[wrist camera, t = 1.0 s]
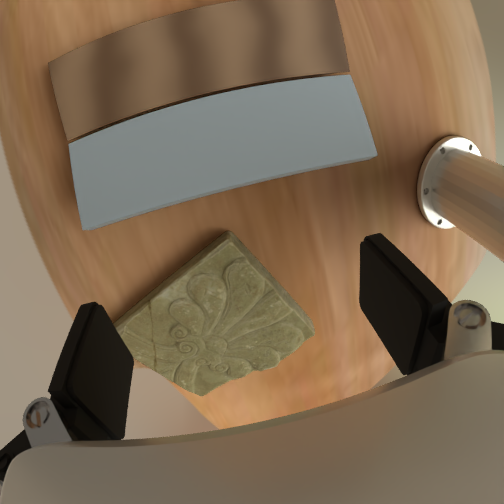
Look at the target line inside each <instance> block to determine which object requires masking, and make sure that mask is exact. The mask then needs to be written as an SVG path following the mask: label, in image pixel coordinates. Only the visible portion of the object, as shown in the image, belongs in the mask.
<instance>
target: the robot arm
mask: <svg viewBox="0 0 504 504" xmlns="http://www.w3.org/2000/svg"><path fill="white" fill-rule="evenodd" d="M417 197H418V203H419V207H420V210H421V212H422V214H423V216H424V217H425V218H426V220H427V221H429V222H430V223H431V224H432V225H434V226H436V227H438V228H442V229H448V228H452V227H455V226H456V227H457V228H459V229H460V230H462V231H463V232H464V233H466V234H467V235H469V236H470V237H471V238H473V239H474V240H475V241H477V242H478V243H479V244H481V245H482V246H483V247H485V248H486V249H487V250H489V251H490V252H491V253H493V254H494V255H495V256H496V257H498V258H499V259H500V260H501V261H503V262H504V166H503V165H500V164H498V163H496V162H493V161H491V160H489V159H486V158H484V157H481V154H480V152H479V150H478V148H477V147H476V146H475V144H474V143H473V142H471V141H470V140H469V139H466V138H464V137H461V136H456V135H455V136H448V137H445V138H443V139H442V140H440V141H439V142H437V143H436V144H435V145H434V146H433V147H432V148H431V150H430V151H429V153H428V154H427V156H426V158H425V160H424V162H423V164H422V167H421V170H420V173H419V178H418V184H417ZM359 303H360V307H361V309H362V311H363V313H364V314H365V316H366V317H367V319H368V320H369V322H370V323H371V325H372V327H373V328H374V330H375V331H376V333H377V334H378V336H379V338H380V339H381V341H382V342H383V344H384V345H385V347H386V349H387V350H388V352H389V354H390V355H391V357H392V358H393V360H394V362H395V363H396V365H397V367H398V368H399V370H400V371H401V373H402V374H403V375H406V374H407V376H405V377H403V378H400V379H398V380H395V381H393V382H390V383H387V384H385V385H382V386H379V387H377V388H374V389H371V390H368V391H366V392H363V393H360V394H357V395H354V396H352V397H349V398H346V399H343V400H340V401H336V402H333V403H330V404H327V405H324V406H320V407H317V408H313V409H310V410H306V411H303V412H299V413H295V414H291V415H287V416H284V417H279V418H275V419H271V420H267V421H262V422H258V423H253V424H248V425H243V426H238V427H233V428H227V429H221V430H215V431H209V432H202V433H195V434H187V435H179V436H170V437H159V438H147V439H131V440H121V439H123V438H124V436H125V427H126V418H127V409H128V401H129V393H130V386H131V379H132V371H133V366H134V360H133V356H132V354H131V352H130V351H129V349H128V348H127V346H126V345H125V343H124V341H123V340H122V338H121V336H120V335H119V333H118V332H117V330H116V328H115V326H114V325H113V323H112V321H111V320H110V318H109V316H108V314H107V313H106V311H105V309H104V307H103V306H102V305H98V303H96V302H91V303H87V304H83V305H81V306H80V308H79V310H78V313H77V315H76V317H75V320H74V322H73V324H72V327H71V329H70V332H69V334H68V337H67V339H66V342H65V344H64V347H63V349H62V352H61V355H60V358H59V360H58V363H57V366H56V368H55V371H54V374H53V377H52V380H51V383H50V386H49V389H48V392H49V393H50V394H51V398H50V399H48V398H45V397H41V398H37V399H35V400H34V401H32V402H31V403H30V404H29V405H28V407H27V408H26V410H25V412H24V415H23V425H24V428H25V429H24V430H23V431H22V432H21V433H20V434H19V435H17V436H16V437H15V438H14V439H13V440H12V441H11V442H9V443H8V444H7V445H6V446H5V447H4V448H3V449H1V450H0V504H504V324H501V323H496V322H492V321H491V318H490V314H489V313H488V311H487V309H486V308H485V307H484V306H483V305H481V304H479V303H478V302H475V301H471V300H462V301H458V302H456V303H454V304H453V305H452V304H451V303H450V302H449V301H448V298H447V297H446V296H445V295H444V294H443V293H442V292H441V291H440V290H439V289H438V288H437V287H436V286H435V285H434V284H433V283H432V282H431V281H430V280H429V279H428V278H427V277H426V276H425V275H424V274H423V273H422V272H421V271H420V270H419V269H418V268H417V267H416V266H415V265H414V264H413V263H412V262H411V261H410V260H409V259H408V258H407V257H406V256H405V255H404V254H403V253H402V252H401V251H400V250H399V249H398V248H396V247H395V246H394V245H393V244H392V243H391V242H390V241H389V240H388V239H387V238H386V237H385V236H383V235H382V234H381V233H377V234H373V235H370V236H366V237H365V238H364V241H363V242H361V244H360V295H359Z"/></svg>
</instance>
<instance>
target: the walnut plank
mask: <svg viewBox="0 0 504 504" xmlns="http://www.w3.org/2000/svg"><path fill="white" fill-rule="evenodd" d="M48 66H49V71H50V76H51V80H52V85H53V89H54V93H55V97H56V101H57V105H58V109H59V113H60V117H61V120H62V124H63V127H64V131H65V134H66V137H67V141H69V140H72V139H74V138H76V137H79V136H81V135H83V134H86V133H88V132H90V131H93V130H95V129H98V128H100V127H103V126H105V125H108V124H111V123H113V122H116V121H119V120H121V119H124V118H127V117H130V116H132V115H135V114H138V113H141V112H144V111H147V110H150V109H153V108H157V107H160V106H163V105H166V104H170V103H173V102H177V101H180V100H184V99H187V98H191V97H195V96H199V95H203V94H207V93H211V92H215V91H220V90H224V89H229V88H233V87H238V86H243V85H248V84H254V83H259V82H265V81H271V80H278V79H284V78H292V77H299V76H308V75H317V74H328V73H340V72H350V70H349V64H348V59H347V54H346V49H345V44H344V39H343V34H342V29H341V25H340V21H339V16H338V12H337V8H336V4H335V0H238V1H231V2H225V3H219V4H214V5H208V6H204V7H199V8H194V9H190V10H186V11H181V12H178V13H174V14H170V15H166V16H163V17H159V18H156V19H152V20H149V21H146V22H143V23H140V24H137V25H134V26H131V27H128V28H125V29H123V30H120V31H117V32H115V33H112V34H109V35H107V36H104V37H102V38H100V39H97V40H95V41H92V42H90V43H88V44H86V45H83V46H81V47H79V48H77V49H75V50H73V51H71V52H69V53H67V54H65V55H63V56H61V57H59V58H57V59H55V60H53V61H51V62H49V63H48Z"/></svg>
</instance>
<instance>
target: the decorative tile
mask: <svg viewBox="0 0 504 504" xmlns="http://www.w3.org/2000/svg"><path fill="white" fill-rule="evenodd" d="M113 325H114V326H115V328H116V330H117V332H118V333H119V335H120V336H121V338H122V340H123V341H124V343H125V345H126V346H127V348H128V349H129V351H130V352H131V354H132V356H133V357H134V358H135V359H136V360H138V361H139V362H141V363H143V364H144V365H146V366H148V367H150V368H151V369H152V370H154V371H156V372H157V373H159V374H161V375H162V376H164V377H165V378H167V379H168V380H170V381H172V382H174V383H176V384H177V385H179V386H180V387H182V388H184V389H185V390H187V391H189V392H192V393H195V394H197V395H199V396H204V395H206V394H207V393H209V392H211V391H212V390H214V389H215V388H217V387H219V386H221V385H223V384H225V383H226V382H228V381H230V380H233V379H237V378H242V377H245V376H246V375H247V374H249V373H251V372H252V371H257V370H258V371H263V370H266V369H270V368H273V367H276V366H277V365H278V364H279V361H281V360H283V359H284V358H285V357H287V356H289V355H290V354H292V353H293V352H294V351H295V350H297V349H298V348H299V347H300V346H301V345H302V343H303V342H304V341H306V340H307V339H309V338H310V337H312V336H314V335H315V329H314V326H313V322H312V320H311V319H310V318H309V317H308V315H307V314H306V313H305V312H304V311H303V310H302V308H301V307H300V306H299V305H298V304H297V303H296V302H295V300H294V299H293V298H292V297H291V296H290V295H289V294H288V293H287V291H286V290H285V289H284V288H283V287H282V286H281V285H280V284H279V283H278V282H277V281H276V279H275V278H274V277H273V276H272V275H271V274H270V273H269V272H268V271H267V270H266V268H265V267H264V266H263V265H262V264H261V263H260V262H259V261H258V260H257V259H256V257H255V256H254V255H253V254H252V253H251V252H250V251H249V250H248V249H247V248H246V247H245V246H244V245H243V244H242V242H241V241H240V240H239V239H238V238H237V237H236V236H235V235H234V234H233V233H232V232H231V231H226V232H225V233H224V234H222V235H221V236H220V237H218V238H217V239H216V240H215V241H213V242H212V243H211V244H210V245H208V246H207V247H206V248H205V249H203V250H202V251H201V252H199V253H198V254H197V255H196V256H194V257H193V258H192V259H191V260H190V261H188V262H187V263H186V264H185V265H183V266H182V267H181V268H180V269H178V270H177V271H176V272H175V273H173V274H172V275H171V276H170V277H169V278H167V279H166V280H165V281H164V282H162V283H161V284H160V285H159V286H158V287H156V288H155V289H154V290H153V291H152V292H150V293H149V294H148V295H147V296H146V297H144V298H143V299H142V300H141V301H139V302H138V303H137V304H136V305H135V306H133V307H132V308H131V309H130V310H129V311H127V312H126V313H125V314H124V315H123V316H122V317H120V318H119V319H118V320H117V321H116V322H115V323H113Z"/></svg>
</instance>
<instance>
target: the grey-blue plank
mask: <svg viewBox="0 0 504 504" xmlns="http://www.w3.org/2000/svg"><path fill="white" fill-rule="evenodd" d="M69 152H70V160H71V168H72V175H73V181H74V188H75V193H76V199H77V205H78V210H79V215H80V220H81V225H82V229H83V230H94V229H97V228H100V227H103V226H106V225H109V224H112V223H115V222H118V221H122V220H125V219H128V218H131V217H134V216H138V215H141V214H144V213H147V212H151V211H154V210H158V209H161V208H164V207H168V206H171V205H175V204H178V203H182V202H185V201H189V200H193V199H196V198H200V197H204V196H207V195H211V194H215V193H219V192H223V191H227V190H231V189H235V188H239V187H243V186H247V185H251V184H255V183H259V182H263V181H268V180H272V179H276V178H281V177H285V176H290V175H294V174H299V173H304V172H308V171H313V170H318V169H323V168H328V167H333V166H338V165H343V164H349V163H354V162H359V161H365V160H369V159H371V158H374V157H376V156H378V154H377V151H376V147H375V144H374V141H373V138H372V134H371V131H370V128H369V125H368V122H367V119H366V116H365V113H364V110H363V107H362V104H361V102H360V99H359V96H358V93H357V91H356V88H355V85H354V83H353V80H352V78H351V75H339V76H327V77H317V78H308V79H300V80H292V81H285V82H278V83H272V84H266V85H260V86H255V87H249V88H244V89H239V90H234V91H230V92H225V93H221V94H216V95H212V96H208V97H204V98H200V99H196V100H192V101H188V102H185V103H181V104H178V105H174V106H171V107H167V108H164V109H161V110H157V111H154V112H151V113H148V114H145V115H142V116H139V117H136V118H133V119H130V120H127V121H125V122H122V123H119V124H116V125H114V126H111V127H109V128H106V129H103V130H101V131H98V132H96V133H93V134H91V135H89V136H86V137H84V138H81V139H79V140H77V141H75V142H72V143H70V144H69Z"/></svg>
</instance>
